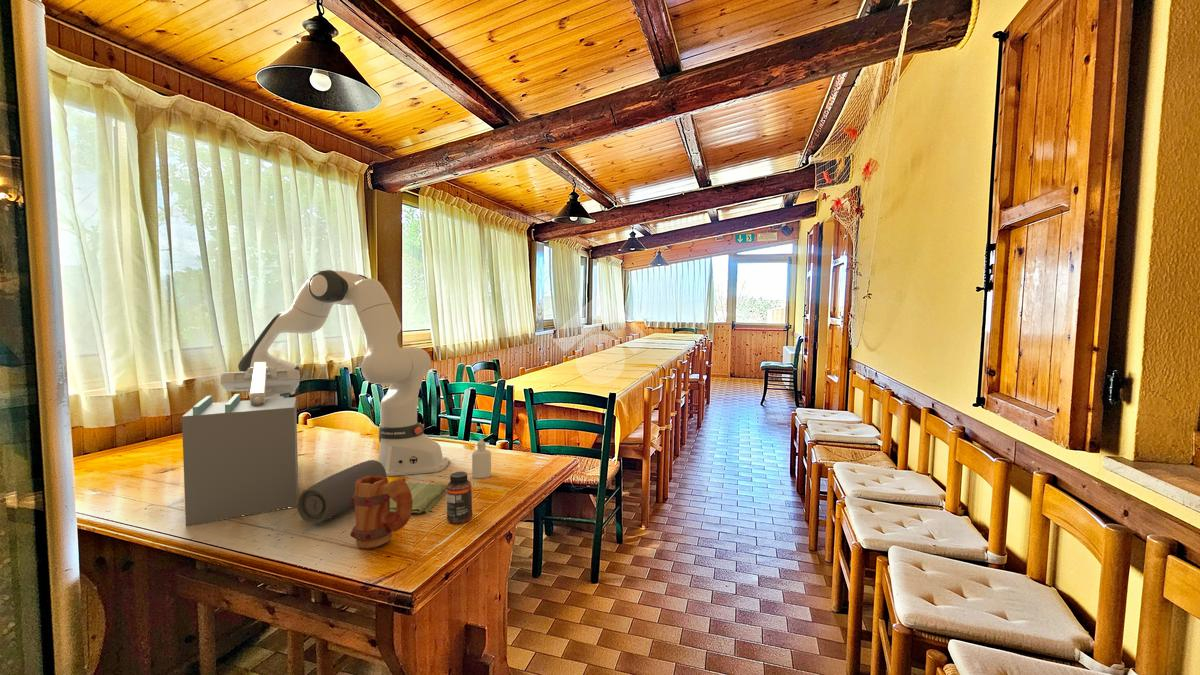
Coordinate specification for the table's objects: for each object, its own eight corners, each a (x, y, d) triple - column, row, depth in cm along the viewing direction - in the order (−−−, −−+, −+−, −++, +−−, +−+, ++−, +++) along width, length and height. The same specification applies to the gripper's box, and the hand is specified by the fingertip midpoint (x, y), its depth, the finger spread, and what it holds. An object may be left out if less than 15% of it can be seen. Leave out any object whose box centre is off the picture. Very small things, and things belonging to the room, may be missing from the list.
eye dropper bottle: (477, 473, 151) (476, 435, 150) (493, 475, 149) (493, 437, 149) (469, 478, 146) (469, 439, 146) (486, 479, 145) (486, 440, 144)
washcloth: (373, 516, 119) (373, 504, 119) (406, 490, 137) (405, 479, 137) (425, 518, 119) (424, 505, 118) (451, 491, 136) (450, 480, 136)
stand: (201, 500, 128) (197, 396, 127) (298, 485, 139) (295, 390, 138) (185, 526, 113) (181, 407, 111) (296, 507, 124) (293, 399, 123)
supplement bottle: (464, 512, 121) (464, 468, 121) (476, 519, 117) (476, 473, 116) (442, 519, 117) (441, 473, 116) (454, 527, 113) (453, 479, 112)
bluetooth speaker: (330, 530, 111) (329, 487, 110) (295, 527, 112) (294, 485, 112) (389, 494, 133) (388, 458, 133) (358, 492, 135) (358, 457, 134)
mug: (341, 548, 102) (340, 478, 102) (372, 532, 110) (370, 467, 109) (395, 560, 97) (393, 487, 96) (423, 543, 105) (422, 475, 104)
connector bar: (255, 371, 149) (254, 362, 149) (266, 370, 151) (266, 361, 150) (250, 408, 124) (249, 397, 124) (264, 407, 126) (263, 396, 125)
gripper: (223, 380, 151) (216, 361, 141) (300, 376, 162) (298, 358, 151) (222, 398, 149) (215, 381, 138) (300, 393, 159) (299, 377, 149)
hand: (259, 369), depth 145 cm, fingers closed on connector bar, 3 cm apart
